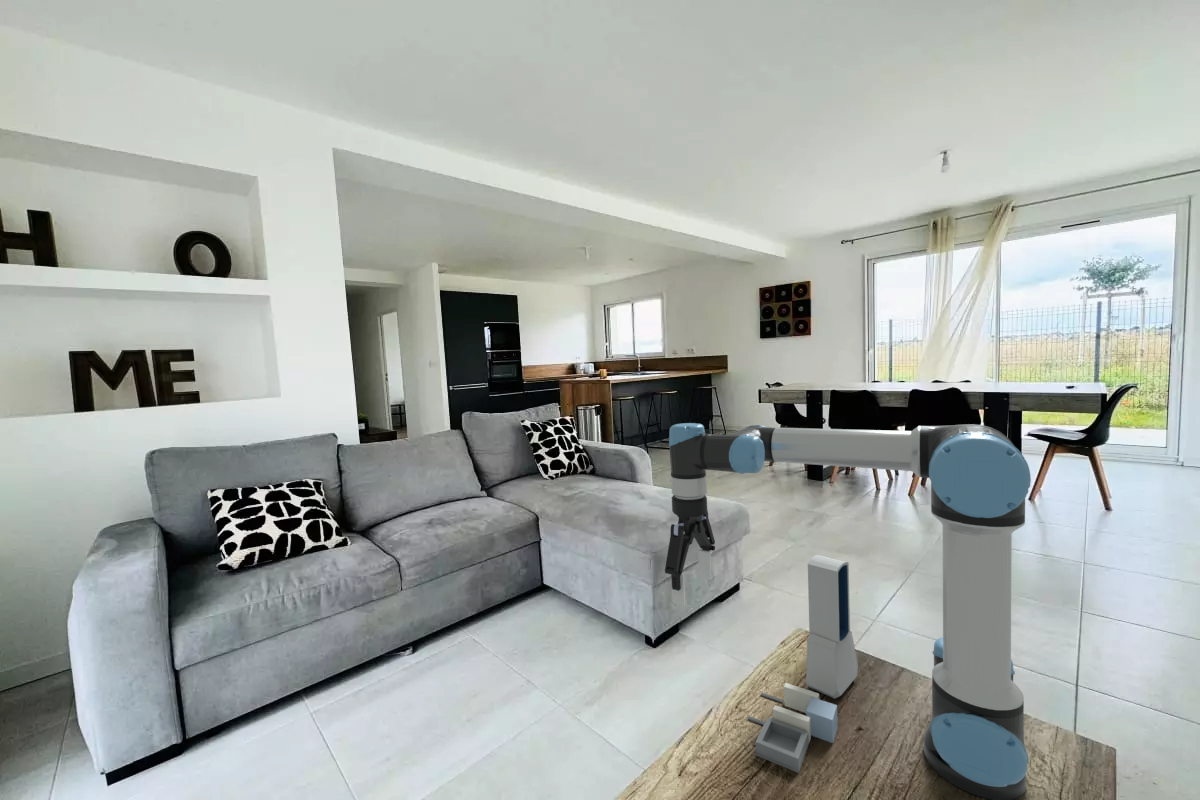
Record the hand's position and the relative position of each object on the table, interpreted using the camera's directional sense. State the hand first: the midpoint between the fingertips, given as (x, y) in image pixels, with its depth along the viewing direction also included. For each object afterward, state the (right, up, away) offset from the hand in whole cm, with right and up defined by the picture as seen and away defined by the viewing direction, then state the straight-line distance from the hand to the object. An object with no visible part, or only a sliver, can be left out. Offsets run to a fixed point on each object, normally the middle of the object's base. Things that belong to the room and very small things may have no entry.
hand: (693, 590), depth 106 cm
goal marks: (+17, -27, +1) cm, 32 cm away
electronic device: (+35, -26, +9) cm, 44 cm away
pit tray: (+16, -28, -10) cm, 34 cm away
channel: (+22, -27, -3) cm, 35 cm away
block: (+26, -27, -5) cm, 38 cm away
